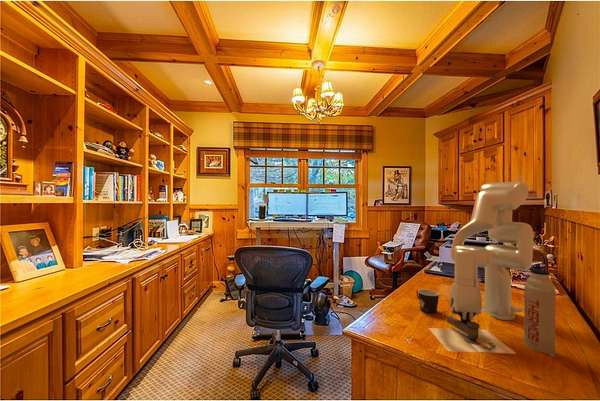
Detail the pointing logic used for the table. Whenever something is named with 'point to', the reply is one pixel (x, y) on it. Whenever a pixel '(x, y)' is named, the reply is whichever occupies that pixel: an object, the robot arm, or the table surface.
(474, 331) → the grey door handle
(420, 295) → the coffee mug
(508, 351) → the beige flat slab
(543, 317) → the thermos bottle
